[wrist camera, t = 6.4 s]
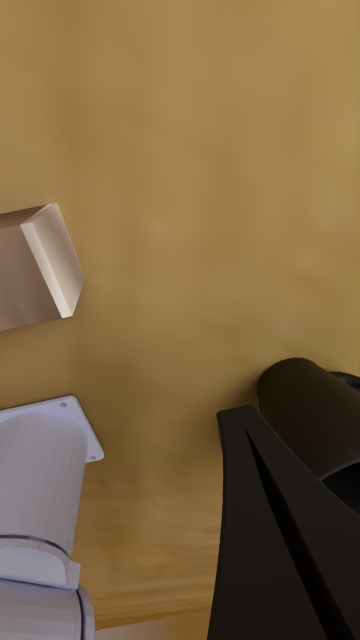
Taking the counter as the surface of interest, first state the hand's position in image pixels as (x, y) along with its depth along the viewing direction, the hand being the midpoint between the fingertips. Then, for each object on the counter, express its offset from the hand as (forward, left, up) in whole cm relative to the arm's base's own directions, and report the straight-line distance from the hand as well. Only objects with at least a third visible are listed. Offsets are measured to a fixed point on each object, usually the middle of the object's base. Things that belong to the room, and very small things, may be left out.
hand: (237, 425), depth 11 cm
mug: (+9, -10, -11) cm, 17 cm away
